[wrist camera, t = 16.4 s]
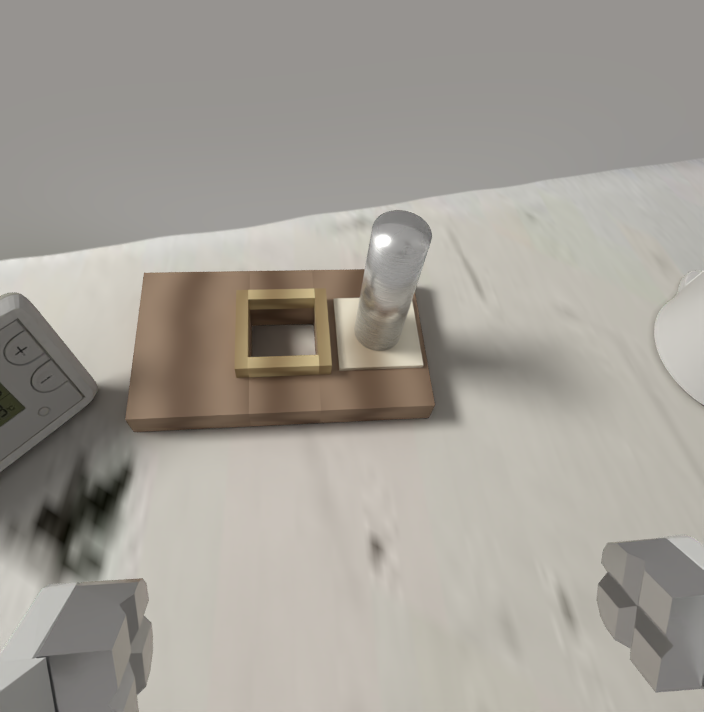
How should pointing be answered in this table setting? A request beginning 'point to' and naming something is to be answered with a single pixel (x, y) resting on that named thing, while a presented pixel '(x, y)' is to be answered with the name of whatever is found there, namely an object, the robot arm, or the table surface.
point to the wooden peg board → (266, 374)
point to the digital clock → (35, 379)
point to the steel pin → (390, 277)
